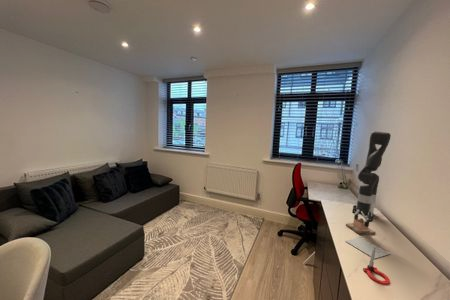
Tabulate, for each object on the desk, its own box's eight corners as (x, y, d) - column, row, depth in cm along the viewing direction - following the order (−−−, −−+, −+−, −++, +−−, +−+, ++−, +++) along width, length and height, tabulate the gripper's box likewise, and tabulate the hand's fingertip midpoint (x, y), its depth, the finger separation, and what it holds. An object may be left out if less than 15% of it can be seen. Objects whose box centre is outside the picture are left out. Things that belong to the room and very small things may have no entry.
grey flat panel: (369, 236, 127) (370, 235, 127) (418, 261, 104) (419, 260, 104) (345, 241, 119) (345, 240, 119) (392, 270, 96) (392, 269, 96)
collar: (353, 225, 137) (353, 219, 136) (360, 225, 138) (361, 219, 137) (360, 229, 131) (361, 223, 130) (367, 229, 132) (368, 223, 131)
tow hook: (394, 285, 87) (376, 269, 96) (400, 259, 85) (381, 245, 94) (377, 286, 86) (360, 270, 95) (383, 260, 84) (365, 246, 93)
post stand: (345, 225, 139) (347, 214, 139) (360, 225, 141) (361, 214, 140) (359, 234, 128) (361, 223, 127) (375, 234, 130) (377, 222, 129)
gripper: (378, 205, 126) (375, 228, 128) (360, 197, 140) (357, 218, 142) (368, 205, 125) (365, 229, 126) (351, 197, 138) (348, 218, 140)
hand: (360, 223), depth 134 cm, fingers open, 8 cm apart
